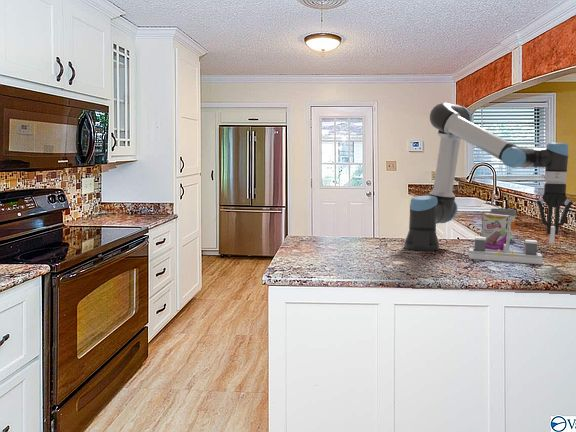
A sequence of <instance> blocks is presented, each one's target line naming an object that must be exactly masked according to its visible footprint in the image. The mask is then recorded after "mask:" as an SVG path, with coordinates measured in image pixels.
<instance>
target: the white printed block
mask: <svg viewBox="0 0 576 432" xmlns="http://www.w3.org/2000/svg"><path fill="white" fill-rule="evenodd" d="M490 214H500V215H510V216H512V219H511V231H510V240H511V239H512V235H513V230H514V229H515V225H516V216H517V210H516V209H511V208H490Z"/></svg>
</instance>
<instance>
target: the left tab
mask: <svg viewBox="0 0 576 432" xmlns="http://www.w3.org/2000/svg"><path fill="white" fill-rule="evenodd" d="M485 243H486V237H481V236H476V235H475V236H474V247H473V248H474V251H485Z"/></svg>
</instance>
